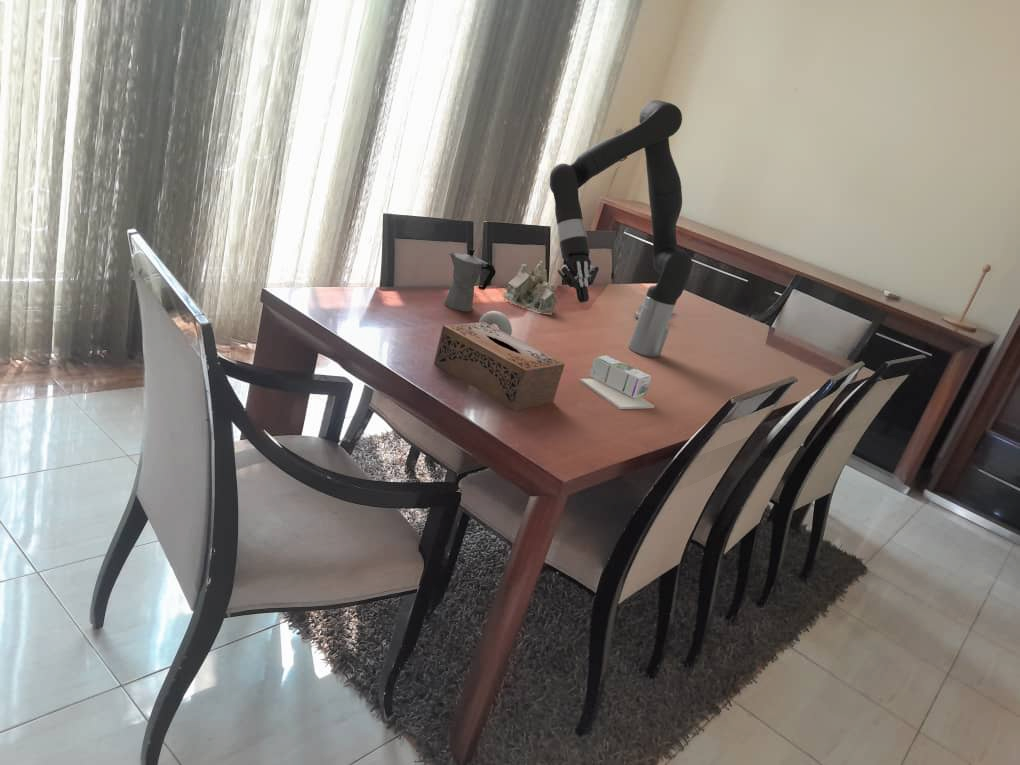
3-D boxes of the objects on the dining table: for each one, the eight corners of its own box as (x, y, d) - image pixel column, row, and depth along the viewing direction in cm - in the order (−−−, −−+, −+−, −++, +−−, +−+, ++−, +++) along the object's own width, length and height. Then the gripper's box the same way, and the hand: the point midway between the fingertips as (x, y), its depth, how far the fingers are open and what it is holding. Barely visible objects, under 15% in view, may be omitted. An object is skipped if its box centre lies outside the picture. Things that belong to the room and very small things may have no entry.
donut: (471, 341, 198) (480, 306, 194) (477, 339, 201) (487, 304, 197) (502, 355, 194) (512, 319, 190) (508, 353, 197) (518, 318, 193)
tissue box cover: (552, 403, 172) (564, 363, 169) (513, 412, 161) (525, 370, 158) (474, 358, 186) (484, 321, 183) (433, 364, 175) (443, 325, 172)
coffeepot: (432, 301, 222) (445, 243, 216) (445, 297, 231) (458, 241, 225) (478, 318, 219) (493, 260, 212) (489, 313, 227) (504, 256, 221)
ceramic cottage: (498, 293, 251) (512, 252, 246) (541, 303, 258) (555, 262, 252) (511, 312, 238) (526, 268, 233) (556, 321, 245) (572, 279, 239)
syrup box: (588, 376, 194) (634, 400, 187) (594, 356, 192) (641, 379, 184) (600, 373, 199) (645, 396, 191) (606, 353, 196) (652, 376, 189)
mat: (579, 380, 191) (580, 378, 191) (612, 380, 198) (613, 378, 198) (619, 409, 179) (620, 407, 179) (653, 408, 186) (654, 405, 186)
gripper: (562, 234, 193) (573, 299, 192) (600, 235, 201) (611, 297, 200) (545, 243, 200) (556, 306, 198) (583, 243, 207) (593, 304, 206)
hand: (584, 301), depth 199 cm, fingers closed
